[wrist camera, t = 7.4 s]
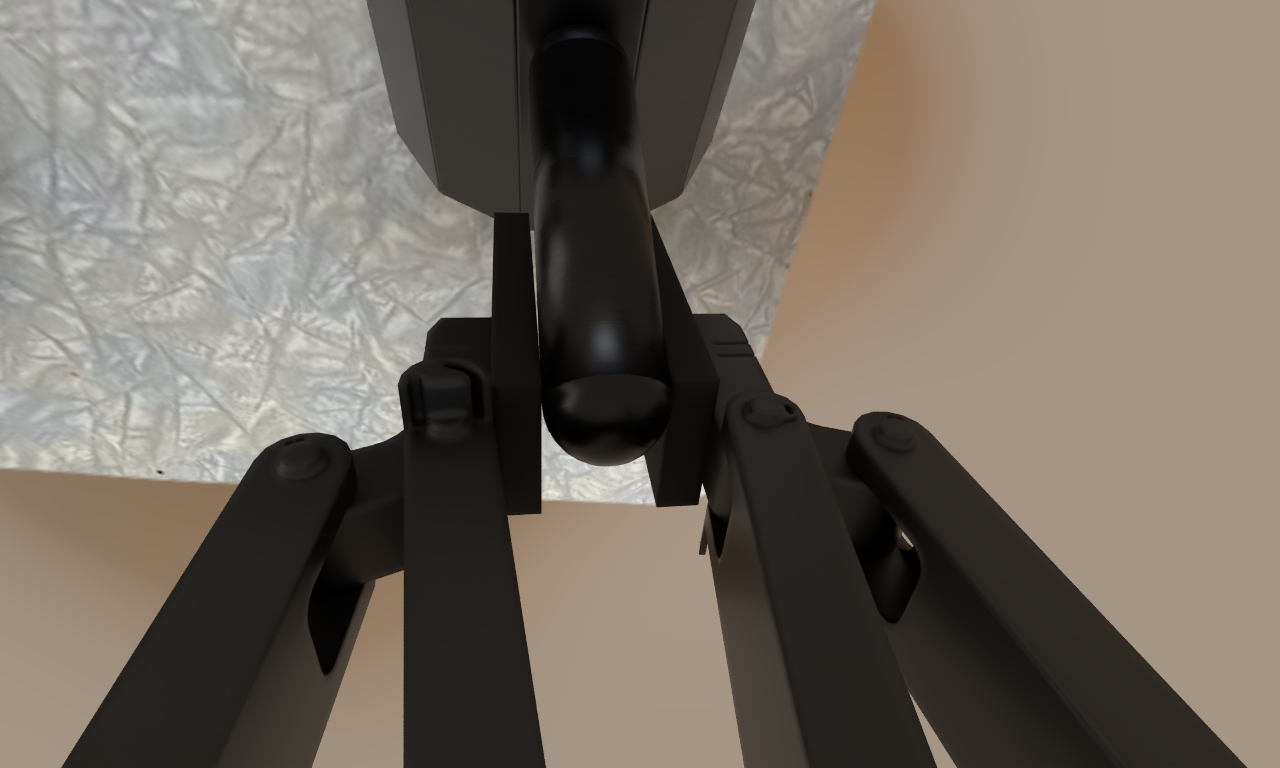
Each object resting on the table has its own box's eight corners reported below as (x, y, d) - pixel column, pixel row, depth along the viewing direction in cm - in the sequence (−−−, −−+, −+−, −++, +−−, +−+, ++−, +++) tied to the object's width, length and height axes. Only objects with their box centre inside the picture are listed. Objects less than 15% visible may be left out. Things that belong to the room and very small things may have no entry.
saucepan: (688, 5, 24) (785, -428, 15) (778, 532, 17) (1066, 326, 8) (404, -11, 22) (316, -503, 13) (373, 559, 15) (147, 342, 6)
